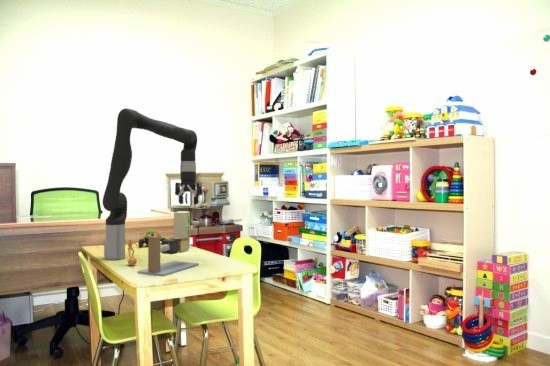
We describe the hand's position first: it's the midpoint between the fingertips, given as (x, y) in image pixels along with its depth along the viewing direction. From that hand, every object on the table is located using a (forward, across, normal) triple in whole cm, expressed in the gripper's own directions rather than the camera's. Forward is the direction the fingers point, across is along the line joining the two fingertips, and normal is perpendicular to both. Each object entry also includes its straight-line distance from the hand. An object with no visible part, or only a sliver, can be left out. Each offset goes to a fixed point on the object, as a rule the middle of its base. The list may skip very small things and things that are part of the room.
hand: (188, 204), depth 224 cm
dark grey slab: (+21, +2, -18) cm, 28 cm away
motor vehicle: (+28, -49, +31) cm, 64 cm away
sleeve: (+21, +2, -11) cm, 24 cm away
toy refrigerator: (+28, -27, +30) cm, 49 cm away
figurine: (+28, -19, -20) cm, 39 cm away
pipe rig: (+28, +2, -17) cm, 33 cm away
